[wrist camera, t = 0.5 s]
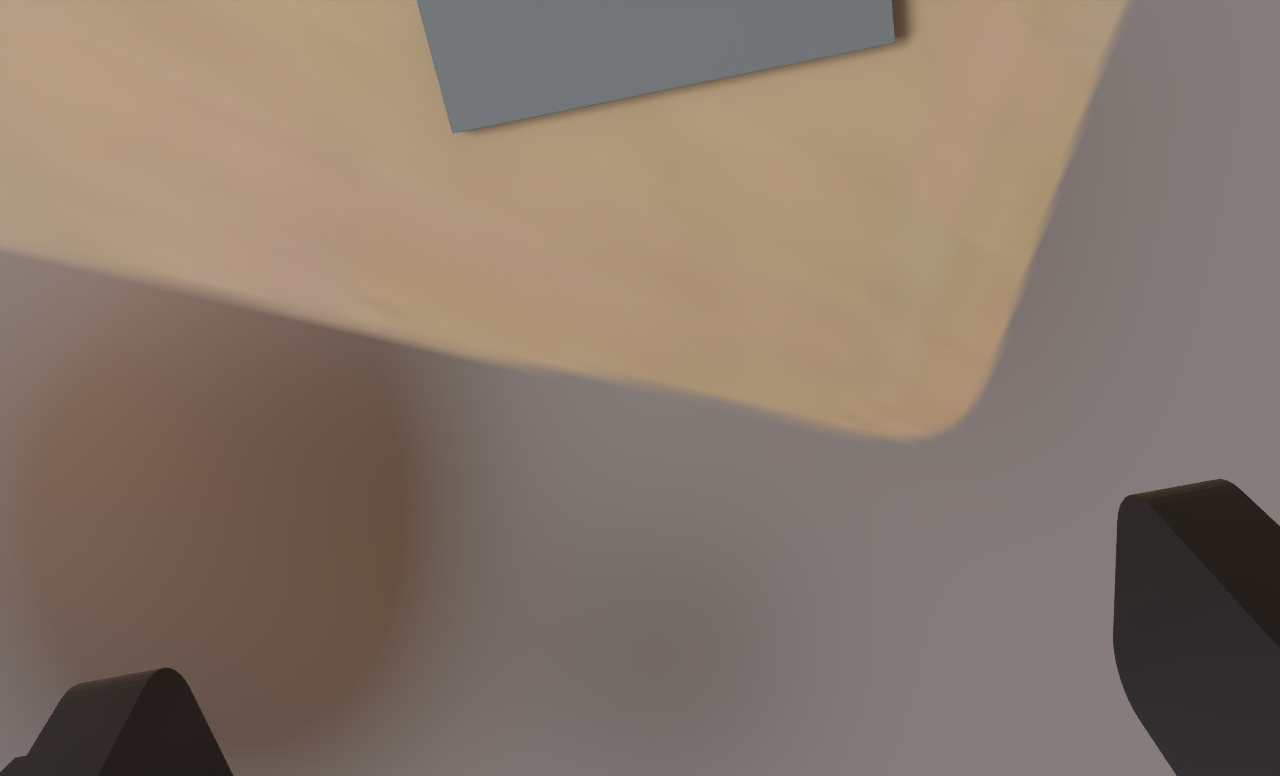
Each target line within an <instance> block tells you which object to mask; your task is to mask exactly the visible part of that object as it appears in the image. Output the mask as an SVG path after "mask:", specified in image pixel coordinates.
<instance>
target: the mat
mask: <svg viewBox="0 0 1280 776" xmlns="http://www.w3.org/2000/svg"><path fill="white" fill-rule="evenodd" d="M417 3H418V7H419V10H420V14H421V18H422V22H423V25H424V29H425V33H426V36H427V40H428V44H429V48H430V51H431V55H432V59H433V62H434V66H435V70H436V74H437V77H438V81H439V85H440V88H441V92H442V96H443V100H444V103H445V107H446V111H447V114H448V118H449V122H450V126H451V129H452V133H458V132H463V131H467V130H472V129H477V128H482V127H487V126H492V125H497V124H501V123H506V122H511V121H516V120H521V119H526V118H531V117H536V116H540V115H545V114H550V113H555V112H560V111H565V110H570V109H574V108H579V107H584V106H589V105H594V104H599V103H604V102H608V101H613V100H618V99H623V98H628V97H633V96H638V95H642V94H647V93H652V92H657V91H662V90H667V89H672V88H676V87H681V86H686V85H691V84H696V83H701V82H706V81H710V80H715V79H720V78H725V77H730V76H735V75H740V74H745V73H749V72H754V71H759V70H764V69H769V68H774V67H779V66H783V65H788V64H793V63H798V62H803V61H808V60H813V59H817V58H822V57H827V56H832V55H837V54H842V53H847V52H851V51H856V50H861V49H866V48H871V47H876V46H881V45H885V44H890V43H895V35H894V23H893V10H892V0H417Z"/></svg>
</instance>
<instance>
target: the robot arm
mask: <svg viewBox="0 0 1280 776" xmlns="http://www.w3.org/2000/svg"><path fill="white" fill-rule="evenodd" d="M1113 645H1114V653H1115V659H1116V664H1117V668H1118V672H1119V676H1120V679H1121V682H1122V685H1123V688H1124V690H1125V693H1126V695H1127V698H1128V700H1129V702H1130V704H1131V706H1132V708H1133V710H1134V712H1135V713H1136V715H1137V716H1138V718H1139V720H1140V721H1141V723H1142V724H1143V726H1144V727H1145V729H1146V730H1147V732H1148V733H1149V735H1150V736H1151V738H1152V739H1153V741H1154V742H1155V744H1156V745H1157V747H1158V748H1159V750H1160V751H1161V753H1162V754H1163V756H1164V757H1165V759H1166V760H1167V762H1168V763H1169V765H1170V766H1171V768H1172V769H1173V771H1174V772H1175V774H1176V775H1177V776H1280V526H1279V525H1278V524H1277V523H1276V522H1275V521H1273V519H1271V518H1270V517H1269V516H1268V515H1267V514H1266V513H1265V512H1264V511H1263V510H1262V509H1261V508H1260V507H1259V506H1257V505H1256V504H1255V503H1254V502H1253V501H1252V500H1251V499H1250V498H1249V497H1248V496H1247V495H1246V494H1245V493H1244V492H1243V491H1241V490H1240V489H1239V488H1238V487H1237V486H1235V485H1234V484H1233V483H1231V482H1229V481H1227V480H1223V479H1217V480H1211V481H1205V482H1200V483H1194V484H1189V485H1183V486H1178V487H1172V488H1167V489H1161V490H1156V491H1151V492H1145V493H1140V494H1134V495H1129V496H1127V497H1125V499H1124V500H1123V501H1122V503H1121V505H1120V508H1119V512H1118V521H1117V544H1116V572H1115V599H1114V626H1113ZM0 776H233V774H232V772H231V770H230V768H229V766H228V764H227V762H226V760H225V758H224V756H223V754H222V752H221V750H220V748H219V746H218V744H217V742H216V740H215V738H214V736H213V734H212V732H211V730H210V728H209V726H208V724H207V722H206V720H205V718H204V716H203V714H202V712H201V710H200V708H199V706H198V704H197V701H196V699H195V697H194V696H193V693H192V691H191V689H190V687H189V686H188V684H187V682H186V681H185V679H184V678H183V677H182V676H181V675H180V674H179V673H178V672H177V671H175V670H173V669H171V668H161V669H156V670H150V671H145V672H139V673H134V674H128V675H123V676H117V677H112V678H106V679H101V680H95V681H90V682H85V683H80V684H77V685H75V686H73V687H72V688H70V689H69V690H68V691H67V692H66V693H65V695H64V696H63V698H62V699H61V700H60V702H59V703H58V705H57V707H56V708H55V710H54V712H53V713H52V715H51V716H50V718H49V720H48V722H47V723H46V725H45V726H44V728H43V730H42V731H41V733H40V734H39V736H38V738H37V739H36V741H35V743H34V744H33V746H32V748H31V749H30V751H29V753H28V754H27V756H22V757H17V758H15V759H13V760H12V761H11V763H9V764H8V765H7V766H6V767H5V768H4V769H3V770H2V771H1V772H0Z"/></svg>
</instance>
